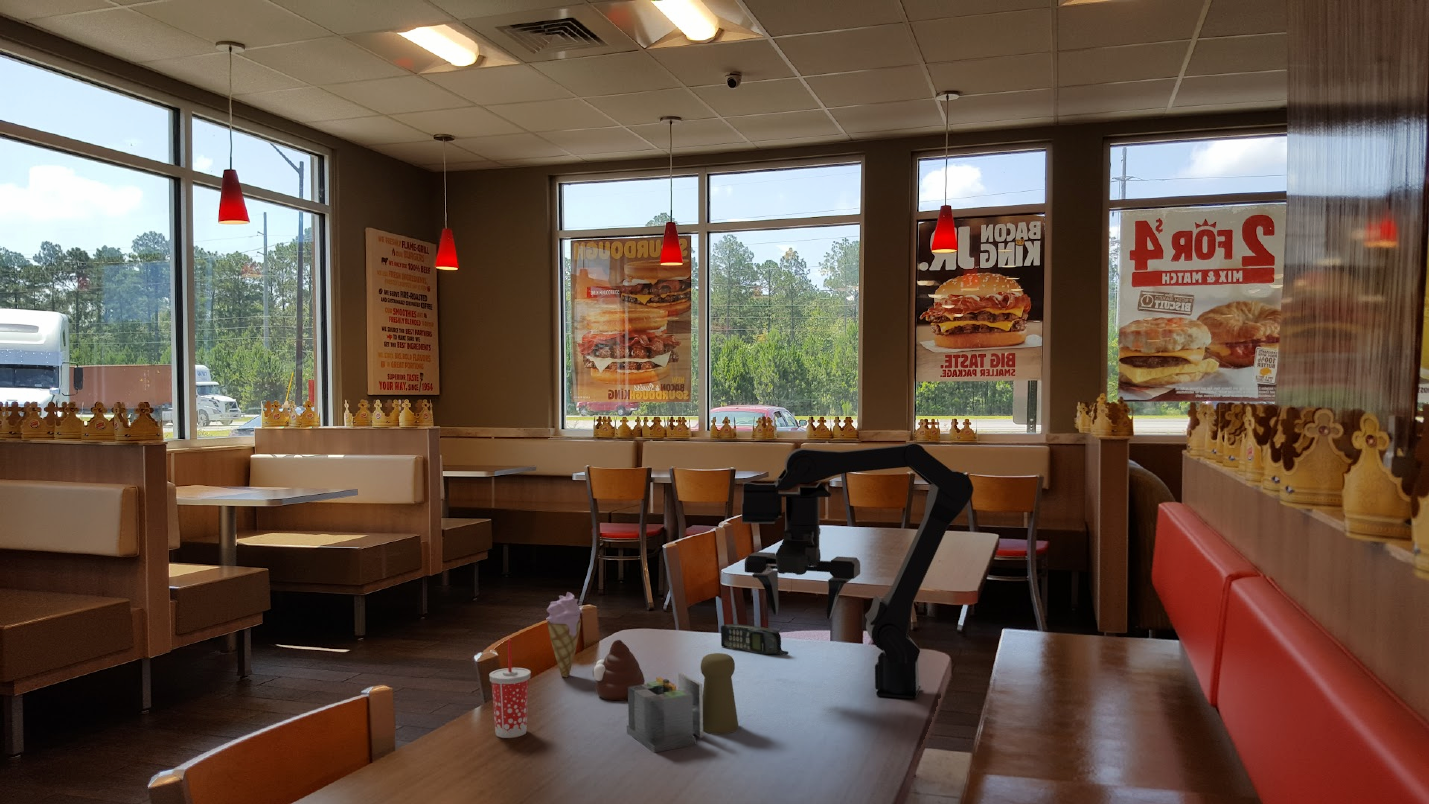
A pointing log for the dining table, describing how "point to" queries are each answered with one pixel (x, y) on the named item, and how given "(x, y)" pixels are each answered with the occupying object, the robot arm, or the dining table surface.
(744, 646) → the mobile phone
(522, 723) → the beverage cup
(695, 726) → the plunger
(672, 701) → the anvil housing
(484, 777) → the dining table surface
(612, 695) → the poop emoji
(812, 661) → the dining table surface
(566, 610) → the ice cream cone
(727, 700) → the cork
